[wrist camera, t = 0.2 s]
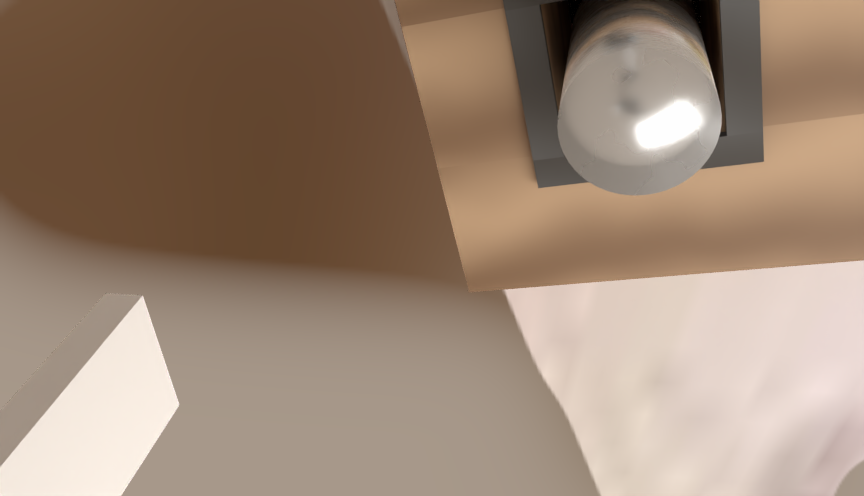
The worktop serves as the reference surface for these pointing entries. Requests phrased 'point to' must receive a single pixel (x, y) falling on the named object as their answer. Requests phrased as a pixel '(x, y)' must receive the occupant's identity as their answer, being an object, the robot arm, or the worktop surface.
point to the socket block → (660, 212)
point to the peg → (637, 96)
